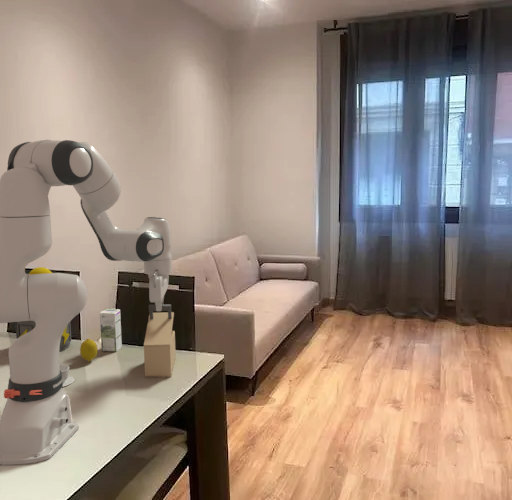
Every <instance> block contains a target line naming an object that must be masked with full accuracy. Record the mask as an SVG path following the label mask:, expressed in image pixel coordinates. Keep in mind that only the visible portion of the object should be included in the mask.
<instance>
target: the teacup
mask: <svg viewBox="0 0 512 500" xmlns="http://www.w3.org/2000/svg"><path fill="white" fill-rule="evenodd" d="M59 366H60V371H61V372H62V377H63V381H62V382H63V386H62V388H63V387H64V388H65V387H66V386H70V385H72V383H74V382H75V381H76V380H75V378H74V377H73V376H70V365H68V364H62V363H61V364H60V363H59Z"/></svg>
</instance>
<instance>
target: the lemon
mask: <svg viewBox="0 0 512 500" xmlns="http://www.w3.org/2000/svg"><path fill="white" fill-rule="evenodd" d="M79 349H80V350H79V352H80V356H81V358H82V359H83V360H85V361H87V362H91V361H92V360H94V359H95V358H96V357H97V355H98V345H97V343H96V342H95V341H94V340H93V339H90V338H86V339H85V340H83V342H82V343H81V344H80V347H79Z"/></svg>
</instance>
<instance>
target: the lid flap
mask: <svg viewBox="0 0 512 500" xmlns="http://www.w3.org/2000/svg"><path fill="white" fill-rule="evenodd" d="M164 311H165V312H164ZM148 312H149V313H148V314H149V315H148V320H147V325H146V331H145V336H144V342H143V348H144V347H146V346H170V342H171V334H172V331H173V325H174V317H175V312H174V311H172V304H171V303H170V304H169V303H168V304H166V303H165V304H163V305H162V311H160V312H157V311H156V305H155V304H148Z"/></svg>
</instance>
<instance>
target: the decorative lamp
mask: <svg viewBox="0 0 512 500" xmlns="http://www.w3.org/2000/svg"><path fill="white" fill-rule="evenodd" d="M46 273H53V272H52V271H51V270H50V269H49V268H46V267H44V266H43V267H42V266H41V267H40V266H39V267H35V268H33V269H32V270H30V272H29V273H28V274H29V275H30V274H46ZM14 323H15V334H16V335H15V338H16V339H18V338H19V337H21V336H22V335H24V334H26V333H28V332H30V331H31V330H33V329H34V328H35V326H36V323H35V321H20V322H14ZM71 325H72V324H71V321H70V322H69V323H68V325H67V326H66V328H65V330H64V332H63V334H62V337H61V340H60V348H59V353H60V352H63V351H65V350H67V349H68V348H69V347H70V346H71V342H72V331H71V329H72V328H71Z"/></svg>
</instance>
